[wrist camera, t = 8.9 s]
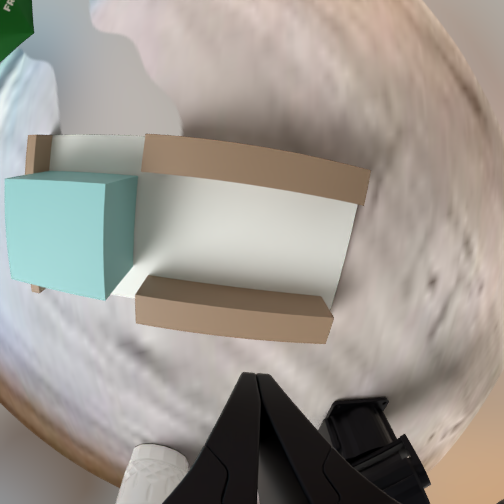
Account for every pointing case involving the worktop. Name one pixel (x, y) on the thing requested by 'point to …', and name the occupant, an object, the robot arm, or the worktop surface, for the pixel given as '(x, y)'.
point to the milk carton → (14, 24)
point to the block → (71, 230)
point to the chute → (224, 230)
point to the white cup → (152, 475)
